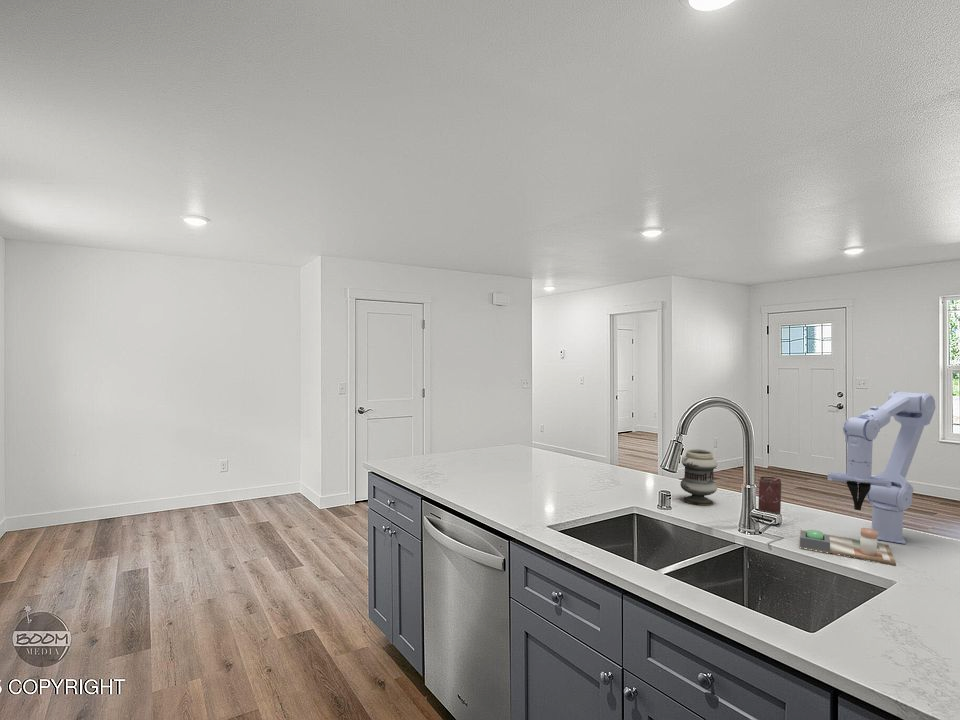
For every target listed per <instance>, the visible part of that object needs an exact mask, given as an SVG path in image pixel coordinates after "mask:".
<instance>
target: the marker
mask: <svg viewBox="0 0 960 720" xmlns="http://www.w3.org/2000/svg"><path fill="white" fill-rule="evenodd" d="M877 538H878V531H876V530H873V529H872V528H870V529H869V528H866V527H861V529H860V539H859V540H860V552H861V553H863V554H866V555H872V556H875V555H876V552H877V543H878V539H877Z"/></svg>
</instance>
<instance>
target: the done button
mask: <svg viewBox="0 0 960 720" xmlns="http://www.w3.org/2000/svg"><path fill="white" fill-rule="evenodd" d="M806 531H807V537H808V538H814V539H819V540H823V534H824V532H822V531H819V530H816V529H814V530H813V529H807V530H806Z"/></svg>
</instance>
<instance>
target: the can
mask: <svg viewBox="0 0 960 720" xmlns="http://www.w3.org/2000/svg"><path fill="white" fill-rule="evenodd" d="M781 501H782V480H781V478H779V477H774V476H761V477H759V481H758V505H757V506H758V509H757V510H760V511H765V512H771V513H775V514H780V515H781V510H782V509H781V508H782V507H781V506H782V505H781V504H782V502H781Z"/></svg>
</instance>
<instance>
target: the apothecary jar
mask: <svg viewBox="0 0 960 720" xmlns="http://www.w3.org/2000/svg"><path fill="white" fill-rule="evenodd" d="M681 464H682V465H683V466H684V475H683V476H684V477H683V478H682V480H681V481H680V488H681V489H682V490H683V491H684V492H686V493H688V494H690V495H688V496H684V497H683V498H682V500H683V501H684V502H685V503H688V504H690V505H698V506H707V507H708V506H712V505H713V504H714V501H712V500H711V499H710V498H709V497H706V496H710V495H712V494H714V493H716V491H717V490H718V485H717V484H716V482H715V480H714V470H715V469H717V467H718V461H717V459H715V458H714V456H713V452H712V451H710V450H706V449H699V448H698V449H697V448H696V449H695V448H694V449H687V450H686V452H685V455H684V456H683V457H682V459H681Z"/></svg>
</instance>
